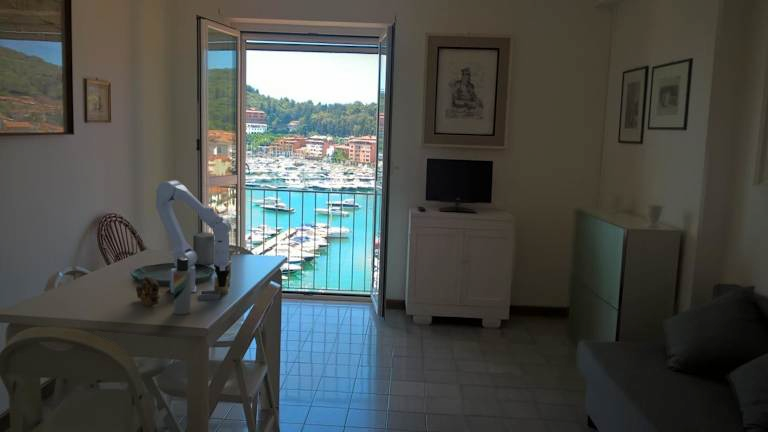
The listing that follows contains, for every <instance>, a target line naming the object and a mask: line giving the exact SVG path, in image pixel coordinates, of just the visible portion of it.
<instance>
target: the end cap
mask: <svg viewBox="0 0 768 432" xmlns="http://www.w3.org/2000/svg"><path fill="white" fill-rule="evenodd" d="M203 300H204V301H205V300H207V301H209V300H210V301H211V300H221V294H220V290H199V301H203Z"/></svg>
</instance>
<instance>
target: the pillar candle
mask: <svg viewBox="0 0 768 432" xmlns="http://www.w3.org/2000/svg"><path fill="white" fill-rule="evenodd" d="M214 240H215V235H214V233H213V232H207V231H206V232H205V231H203V232H195V233H193V243H192V245H193V248H192V250H193V251H195V252H196V254H197V261H196V263H194V265H199V264H201V265H202V266H203V265H204V266H207V265H212V264H214ZM201 265H200V266H201Z"/></svg>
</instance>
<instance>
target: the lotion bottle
mask: <svg viewBox="0 0 768 432" xmlns="http://www.w3.org/2000/svg"><path fill="white" fill-rule="evenodd" d="M191 296H192V292H191V271H190V270H188V258H187V257H178V259H177V270H175V271H174V293H173V314H174V313H175V314H174V315H177V314H179V316H182V314H185V315H188V313H189V314H190V313H191V307H192V306H191V300H192V299H191Z"/></svg>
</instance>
